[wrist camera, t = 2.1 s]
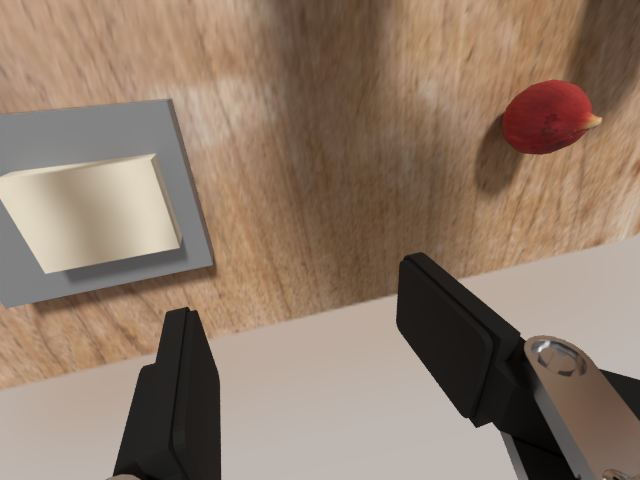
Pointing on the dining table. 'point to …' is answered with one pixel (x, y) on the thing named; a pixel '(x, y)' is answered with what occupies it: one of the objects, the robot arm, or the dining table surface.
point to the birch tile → (92, 211)
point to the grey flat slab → (88, 146)
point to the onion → (548, 117)
